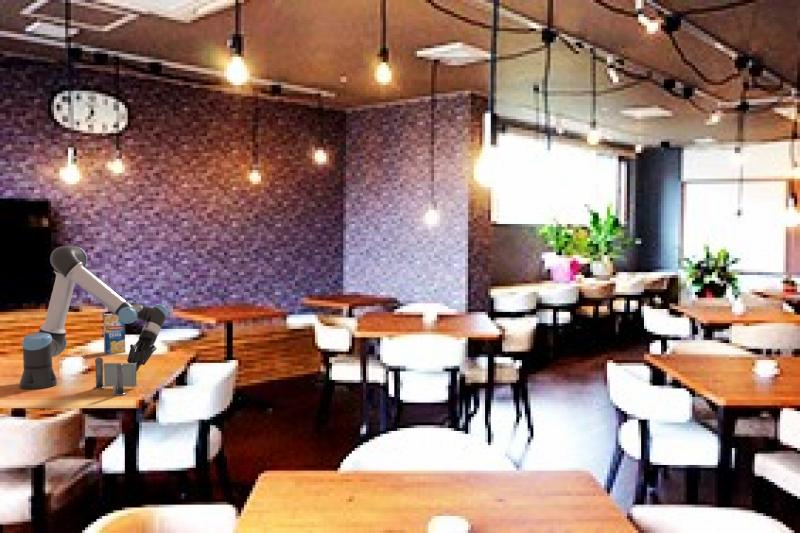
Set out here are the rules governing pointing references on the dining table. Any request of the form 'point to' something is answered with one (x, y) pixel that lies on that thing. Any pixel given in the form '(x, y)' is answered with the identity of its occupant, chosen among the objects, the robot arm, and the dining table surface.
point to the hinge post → (99, 373)
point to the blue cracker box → (113, 334)
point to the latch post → (119, 381)
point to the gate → (128, 374)
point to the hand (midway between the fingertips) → (129, 376)
